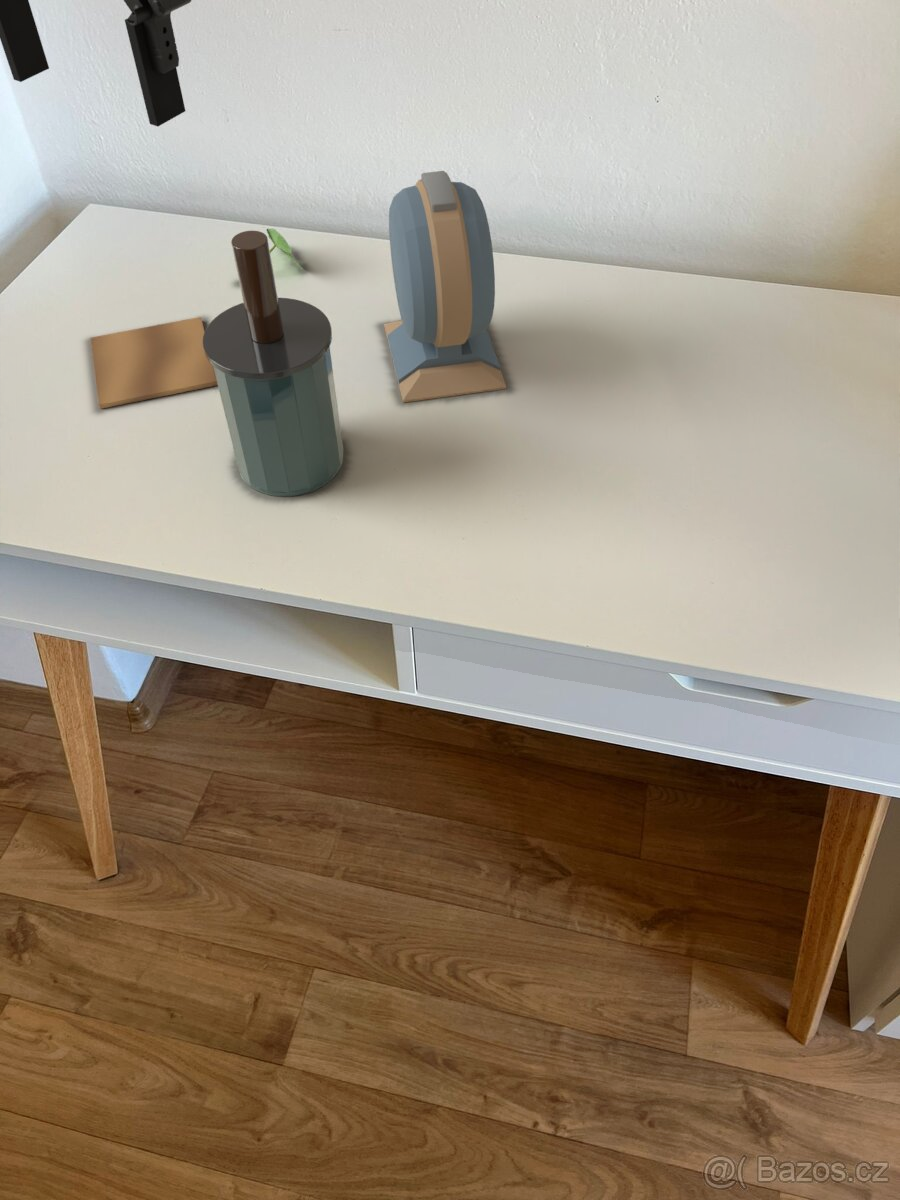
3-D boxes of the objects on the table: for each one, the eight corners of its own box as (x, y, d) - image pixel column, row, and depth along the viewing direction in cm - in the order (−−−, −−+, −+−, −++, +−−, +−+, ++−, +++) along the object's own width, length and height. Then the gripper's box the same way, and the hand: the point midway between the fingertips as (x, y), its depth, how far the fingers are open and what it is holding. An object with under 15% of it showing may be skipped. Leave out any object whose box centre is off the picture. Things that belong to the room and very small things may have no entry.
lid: (215, 397, 75) (188, 289, 68) (197, 323, 81) (170, 217, 74) (345, 371, 77) (332, 263, 70) (318, 300, 83) (303, 194, 76)
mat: (100, 409, 93) (98, 404, 93) (91, 341, 100) (90, 337, 100) (218, 385, 95) (217, 381, 95) (201, 320, 102) (200, 316, 102)
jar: (247, 506, 85) (218, 387, 75) (230, 438, 90) (201, 318, 81) (354, 483, 86) (338, 363, 77) (330, 417, 92) (313, 297, 82)
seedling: (269, 311, 111) (309, 266, 111) (263, 307, 104) (306, 259, 103) (219, 264, 110) (259, 218, 109) (209, 256, 102) (252, 207, 101)
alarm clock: (508, 395, 93) (514, 217, 80) (404, 409, 92) (392, 231, 79) (477, 308, 102) (478, 135, 89) (382, 320, 101) (368, 147, 88)
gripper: (203, -297, 52) (267, 115, 69) (-101, -332, 62) (18, 40, 78) (97, -271, 48) (191, 161, 65) (-211, -312, 58) (-61, 75, 74)
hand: (97, 95), depth 71 cm, fingers open, 13 cm apart
